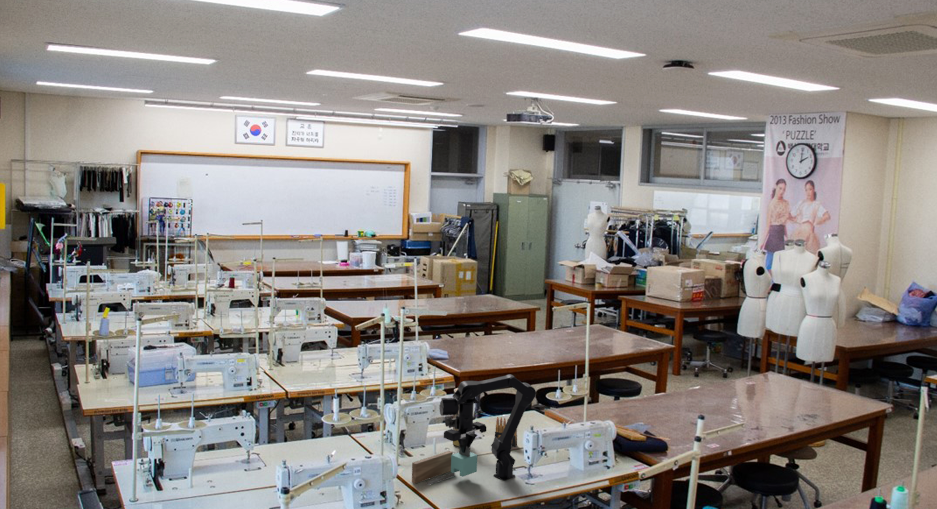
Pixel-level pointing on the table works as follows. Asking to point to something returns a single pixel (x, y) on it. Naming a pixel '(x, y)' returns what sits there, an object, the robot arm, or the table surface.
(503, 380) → the robot arm
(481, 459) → the table surface
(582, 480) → the table surface
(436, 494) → the table surface
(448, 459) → the brown wooden beam
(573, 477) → the table surface
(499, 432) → the ammunition clip
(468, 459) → the teal handled box
